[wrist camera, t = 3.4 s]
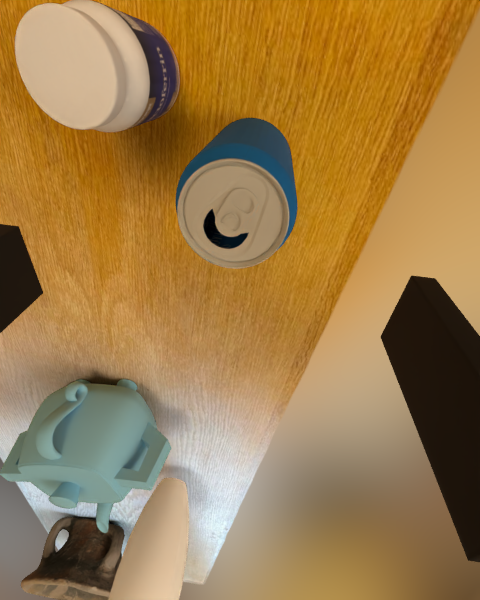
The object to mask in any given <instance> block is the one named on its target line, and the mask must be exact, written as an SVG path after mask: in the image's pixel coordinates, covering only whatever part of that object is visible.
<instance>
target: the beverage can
mask: <svg viewBox="0 0 480 600" xmlns="http://www.w3.org/2000/svg"><path fill="white" fill-rule="evenodd" d="M176 211H177V216H178V223H179V226H180V229H181V232H182V234H183V236H184V238H185V240H186V242H187V243H188V244H189V246H190V247H191V248H192V249H193V250H194V251H195V252H196V253H197V254H198V255H199V256H201V257H202V258H203V259H205V260H207V261H208V262H210V263H213V264H215V265H218V266H221V267H226V268H246V267H251V266H254V265H257V264H259V263H261V262H263V261H265V260H266V259H268V258H269V257H270V256H271V255H273V254H274V253H275V252H276V251H277V250H278V249H279V248H280V247H281V246H282V245H283V244H284V242H285V241H286V240H287V238H288V237H289V235H290V233H291V231H292V229H293V226H294V224H295V220H296V215H297V196H296V188H295V181H294V173H293V166H292V158H291V152H290V148H289V145H288V143H287V141H286V139H285V137H284V136H283V134H282V133H281V132H280V131H279V130H278V129H277V128H276V127H275V126H273V125H272V124H271V123H269V122H267V121H264V120H261V119H257V118H244V119H240V120H237V121H234V122H232V123H231V124H229V125H228V126H226V127H225V128H224V129H223V130H222V131H221V132H220V133H219V134H218V135H217V136H216V137H215V138H214V139H213V140H212V141H211V142H210V143H209V144H208V145H207V146H206V147H205V148H204V149H203V150H202V151H201V152H200V153H199V154H198V155H197V156H196V157H195V158H194V159H193V160H192V161H191V162H190V163H189V164H188V165H187V167H186V168H185V170H184V172H183V173H182V175H181V178H180V180H179V183H178V187H177V192H176Z"/></svg>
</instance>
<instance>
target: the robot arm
mask: <svg viewBox="0 0 480 600" xmlns="http://www.w3.org/2000/svg"><path fill="white" fill-rule="evenodd" d="M41 294H43V291H42V288H41V285H40V283H39V280H38V277H37V275H36V272H35V269H34V267H33V264H32V261H31V259H30V256H29V253H28V251H27V248H26V245H25V243H24V240H23V237H22V235H21V232H20V229H19V226H11V225H3V224H0V333H1V332H2V331H3V330H4V329H5V328H6V327H7V326H8V325H9V324H10V323H12V322H13V321H14V320H15V319H16V318H17V317H18V316H19V315H20V314H21V313H22V312H23V311H24V310H25V309H27V308H28V307H29V306H30V305H31V304H32V303H33V302H34V301H35V300H36V299H37V298H38V297H39V296H40V295H41ZM381 339H382V342H383V344H384V347H385V350H386V352H387V355H388V356H389V360H390V362H391V365H392V367H393V370H394V372H395V375H396V377H397V380H398V383H399V385H400V388H401V390H402V393H403V395H404V398H405V401H406V403H407V405H408V408H409V411H410V413H411V416H412V418H413V421H414V423H415V426H416V428H417V431H418V433H419V436H420V438H421V441H422V444H423V446H424V449H425V451H426V454H427V457H428V459H429V461H430V464H431V467H432V469H433V472H434V474H435V477H436V479H437V482H438V485H439V487H440V490H441V492H442V495H443V497H444V500H445V502H446V505H447V508H448V510H449V513H450V515H451V518H452V520H453V523H454V525H455V528H456V530H457V533H458V536H459V538H460V541H461V543H462V546H463V548H464V551H465V554H466V556H467V559H468V560H470V561H475V562H480V336H479V335H478V333H477V332H476V331H475V330H474V328H473V327H472V326H471V324H470V323H469V322H468V320H466V318H465V317H464V315H463V314H462V313H461V311H460V310H459V309H458V307H457V306H456V305H455V304H454V302H453V301H452V300H451V298H450V297H449V296H448V295H447V293H446V292H445V291H444V289H443V288H442V287H441V286H440V284H439V283H438V282H437V280H436V279H434V278H427V277H419V276H411V277H410V280H409V281H408V283H407V285H406V288H405V290H404V291H403V293H402V295H401V298H400V299H399V302H398V303H397V305H396V307H395V309H394V311H393V313H392V315H391V317H390V319H389V321H388V323H387V325H386V327H385V329H384V331H383V333H382V335H381Z"/></svg>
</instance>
